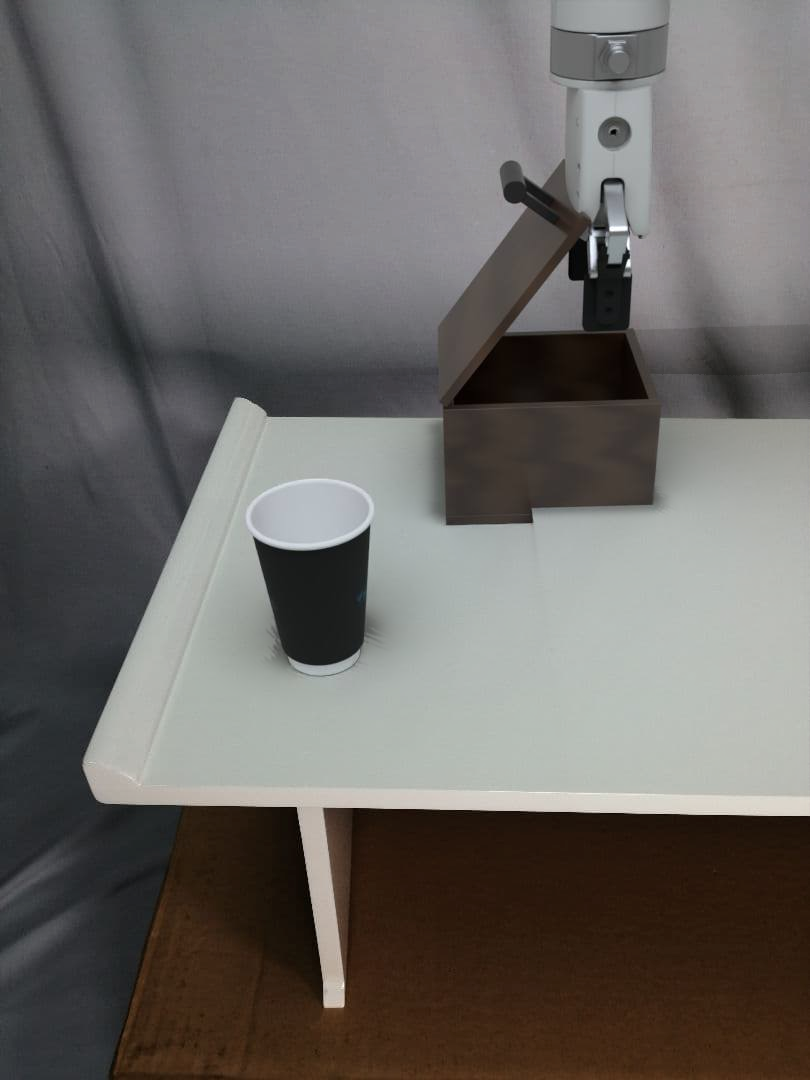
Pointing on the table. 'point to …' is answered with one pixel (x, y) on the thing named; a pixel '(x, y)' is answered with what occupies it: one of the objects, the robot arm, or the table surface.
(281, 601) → the dixie cup
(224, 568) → the table surface
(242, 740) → the table surface
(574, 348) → the box
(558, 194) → the box lid
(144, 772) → the table surface
